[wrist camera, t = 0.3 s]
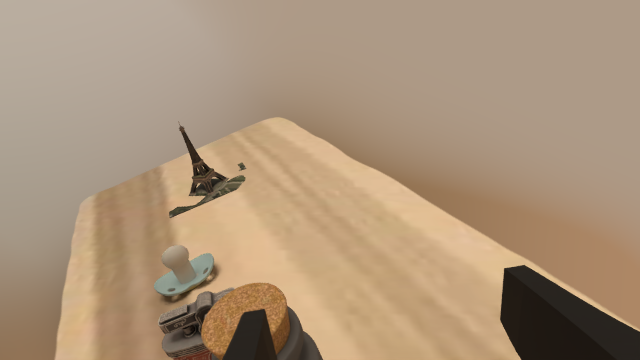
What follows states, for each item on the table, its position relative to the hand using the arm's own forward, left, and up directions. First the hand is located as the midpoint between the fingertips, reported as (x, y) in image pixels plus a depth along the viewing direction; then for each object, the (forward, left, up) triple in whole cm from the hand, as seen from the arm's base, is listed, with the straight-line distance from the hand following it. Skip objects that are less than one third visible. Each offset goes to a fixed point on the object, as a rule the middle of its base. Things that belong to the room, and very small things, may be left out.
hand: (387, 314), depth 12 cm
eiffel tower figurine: (+55, +22, -21) cm, 63 cm away
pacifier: (+31, +21, -21) cm, 43 cm away
